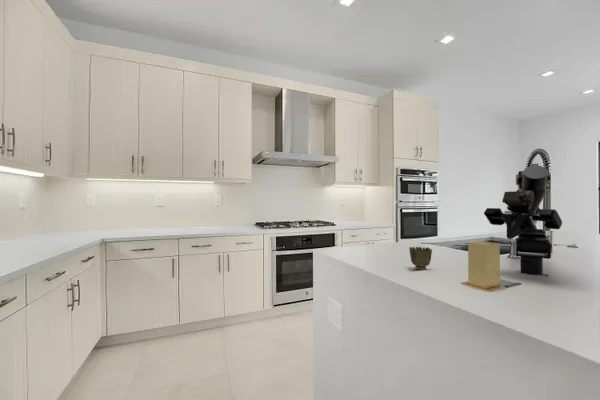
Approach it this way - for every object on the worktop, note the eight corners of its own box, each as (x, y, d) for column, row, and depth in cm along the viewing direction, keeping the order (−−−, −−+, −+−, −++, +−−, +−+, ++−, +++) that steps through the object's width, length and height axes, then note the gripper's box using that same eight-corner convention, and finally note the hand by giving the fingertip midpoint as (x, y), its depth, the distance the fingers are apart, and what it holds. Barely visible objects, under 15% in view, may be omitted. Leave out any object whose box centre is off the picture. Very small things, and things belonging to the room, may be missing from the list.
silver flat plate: (492, 280, 87) (492, 276, 87) (522, 287, 79) (522, 283, 79) (460, 287, 80) (460, 282, 80) (489, 295, 73) (489, 290, 73)
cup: (434, 273, 95) (434, 250, 95) (411, 272, 97) (411, 249, 97) (429, 268, 103) (428, 246, 103) (407, 267, 104) (407, 246, 104)
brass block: (481, 282, 82) (481, 241, 82) (500, 286, 77) (499, 243, 77) (468, 284, 79) (468, 242, 79) (486, 289, 75) (486, 244, 75)
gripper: (487, 184, 94) (466, 217, 89) (556, 180, 77) (535, 221, 73) (501, 207, 98) (481, 240, 93) (570, 208, 81) (551, 249, 76)
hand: (508, 238), depth 83 cm, fingers closed
